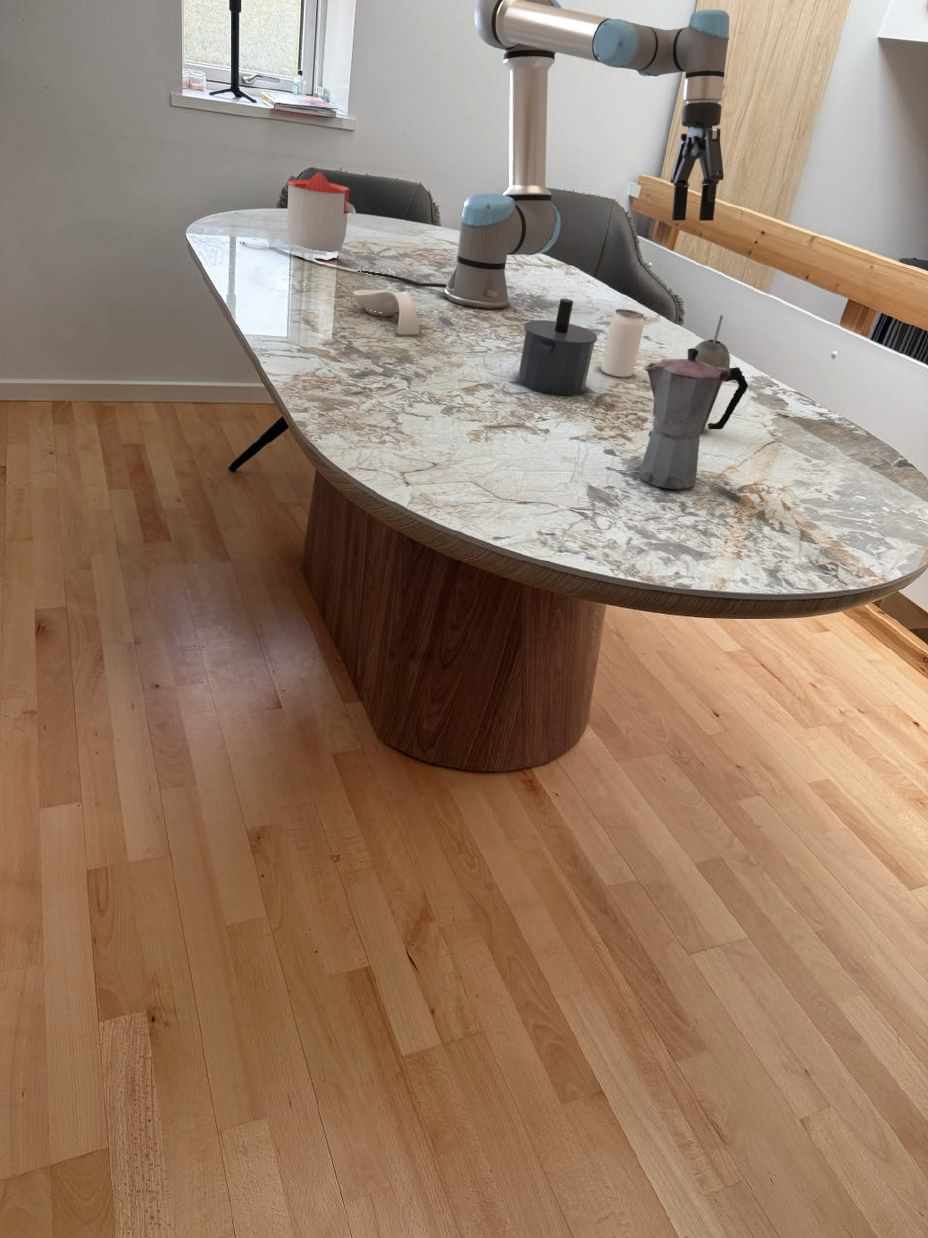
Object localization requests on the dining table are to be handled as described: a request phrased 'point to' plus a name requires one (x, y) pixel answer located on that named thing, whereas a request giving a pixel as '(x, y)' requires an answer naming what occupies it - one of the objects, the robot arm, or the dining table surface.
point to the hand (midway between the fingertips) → (691, 220)
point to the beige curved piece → (390, 307)
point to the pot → (554, 366)
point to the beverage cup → (713, 359)
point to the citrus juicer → (318, 213)
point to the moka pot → (682, 417)
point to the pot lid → (561, 328)
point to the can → (622, 343)
